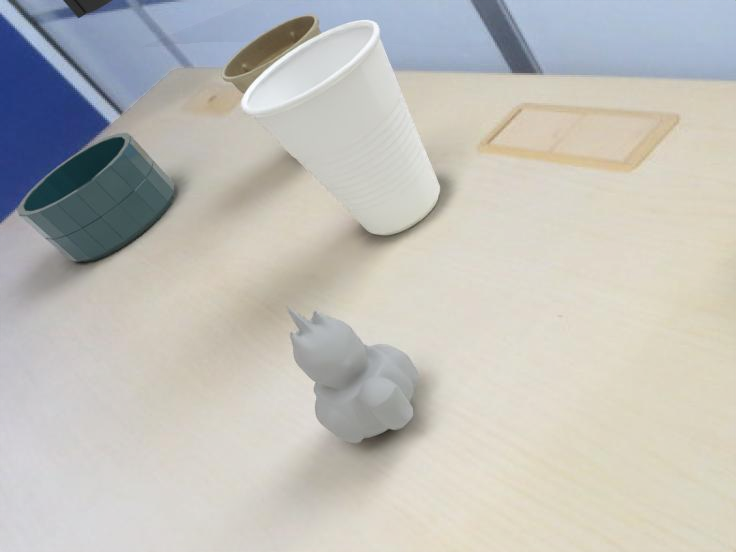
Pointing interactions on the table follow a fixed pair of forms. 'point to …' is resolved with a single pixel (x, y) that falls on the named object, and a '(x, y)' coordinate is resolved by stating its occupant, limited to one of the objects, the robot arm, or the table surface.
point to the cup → (349, 126)
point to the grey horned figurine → (353, 378)
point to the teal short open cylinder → (99, 199)
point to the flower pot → (269, 50)
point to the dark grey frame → (85, 6)
